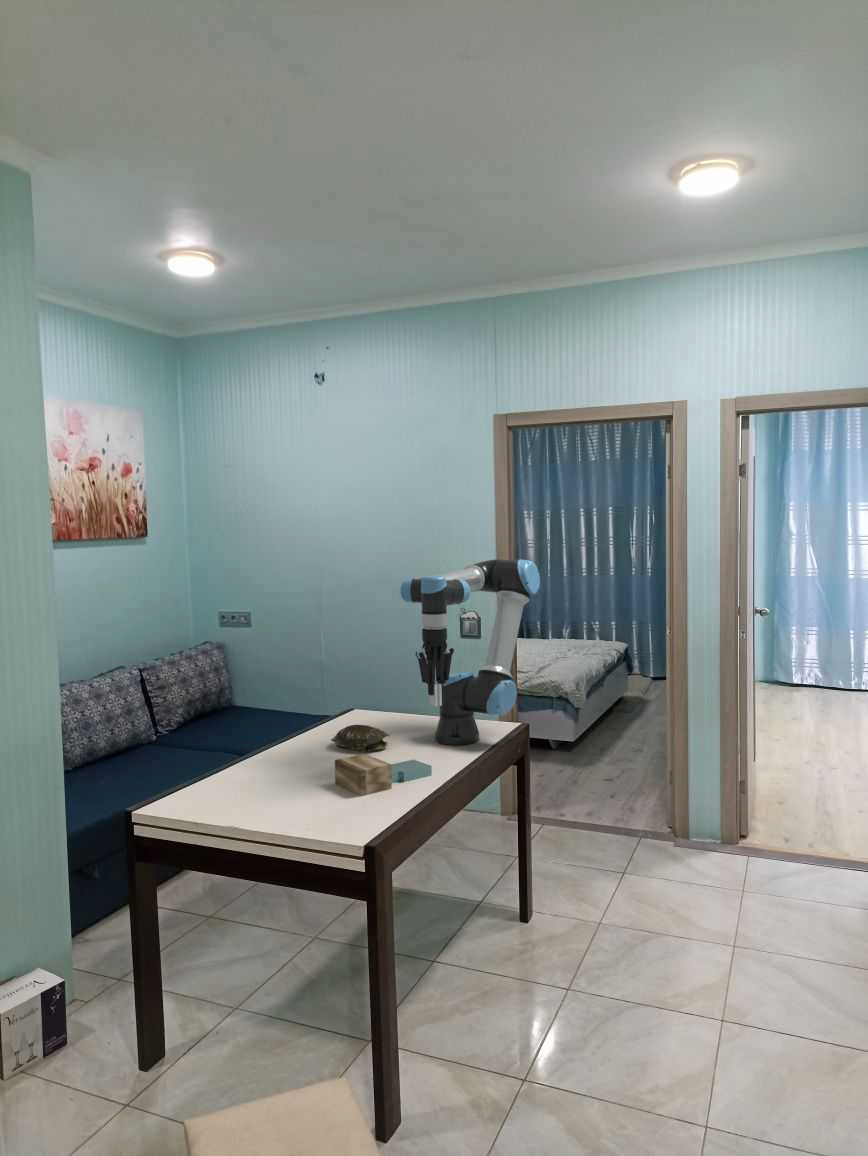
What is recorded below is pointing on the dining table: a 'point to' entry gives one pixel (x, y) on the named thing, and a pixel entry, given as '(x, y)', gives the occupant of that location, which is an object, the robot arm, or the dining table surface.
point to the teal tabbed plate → (409, 771)
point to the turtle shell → (360, 738)
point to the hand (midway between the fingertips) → (435, 705)
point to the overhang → (363, 774)
